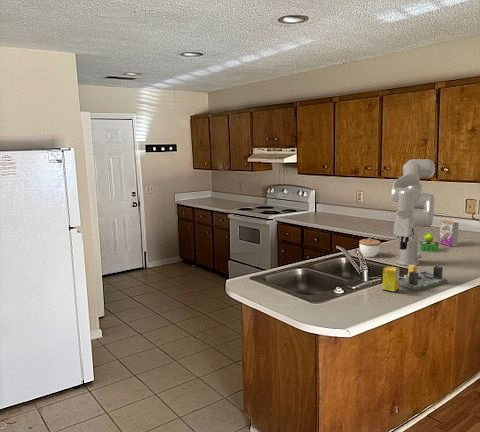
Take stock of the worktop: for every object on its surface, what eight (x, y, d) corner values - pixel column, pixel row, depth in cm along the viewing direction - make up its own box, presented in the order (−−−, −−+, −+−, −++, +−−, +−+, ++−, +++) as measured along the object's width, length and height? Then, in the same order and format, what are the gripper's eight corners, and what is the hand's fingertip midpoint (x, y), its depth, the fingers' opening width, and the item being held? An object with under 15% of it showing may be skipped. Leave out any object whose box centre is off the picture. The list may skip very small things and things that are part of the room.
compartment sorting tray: (424, 275, 234) (425, 260, 233) (447, 282, 222) (448, 267, 221) (389, 283, 222) (390, 268, 221) (412, 291, 210) (413, 275, 209)
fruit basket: (419, 251, 282) (420, 234, 280) (418, 247, 291) (419, 231, 289) (438, 252, 279) (440, 235, 277) (437, 249, 287) (438, 232, 285)
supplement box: (386, 287, 217) (387, 265, 215) (398, 289, 213) (400, 268, 211) (381, 290, 212) (382, 268, 210) (394, 293, 208) (395, 270, 206)
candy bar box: (438, 243, 301) (440, 220, 299) (443, 242, 303) (445, 219, 300) (451, 247, 291) (453, 223, 288) (457, 246, 293) (459, 222, 290)
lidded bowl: (354, 254, 276) (355, 237, 274) (369, 252, 282) (370, 235, 280) (368, 259, 265) (369, 241, 263) (384, 256, 271) (385, 239, 269)
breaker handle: (411, 276, 227) (412, 264, 226) (416, 278, 225) (417, 265, 224) (407, 277, 226) (408, 265, 225) (412, 278, 223) (413, 266, 222)
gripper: (388, 212, 230) (386, 247, 233) (412, 216, 217) (410, 253, 220) (398, 211, 233) (396, 245, 236) (422, 215, 220) (420, 251, 223)
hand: (403, 249), depth 228 cm, fingers closed
